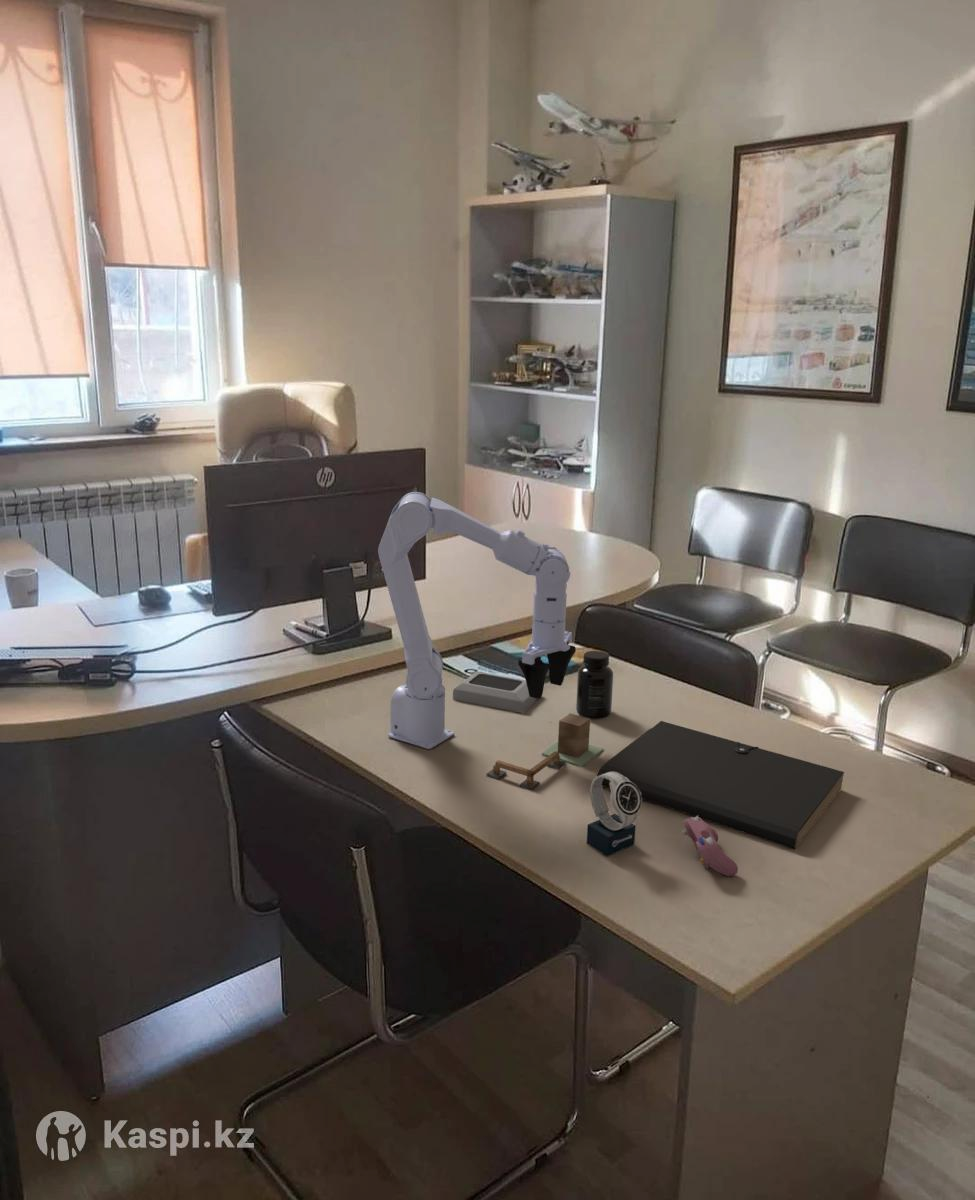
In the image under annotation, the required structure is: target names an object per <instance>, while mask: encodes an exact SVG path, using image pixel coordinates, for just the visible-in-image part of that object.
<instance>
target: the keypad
mask: <svg viewBox="0 0 975 1200" xmlns="http://www.w3.org/2000/svg"><path fill="white" fill-rule="evenodd" d="M452 700H455V701H459V702H465V701H466V702H467V703H470V704H475V703H476V705H480V704H481V705H480V706H485V705H486V706H487V707H491V708H497V709H502V710H507V711H510V712H511V711H512V712H516V711H517V713H521V712H523V713H524V712H526V710H528V709H529V708H530V706H532V705H533V704H534V703H535V702H536V701H537V700H538V699H537V698H533V697H530V696H529V692H528V687H527V683H526V679H525V680H524V679H519V678H514V677H508V676H504V675H498V674H492V673H487V672H480V671H475V672H474V673H473V674H471V675H470V676H468V677H467V678H466V679H465V680H464V681H462V682H460V683H459V684H458V685H457V686H456V687H455V688H453V691H452ZM535 700H536V701H535ZM534 701H535V702H534ZM466 702H465V703H466ZM533 702H534V703H533ZM532 703H533V704H532ZM531 704H532V705H531Z"/></svg>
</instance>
